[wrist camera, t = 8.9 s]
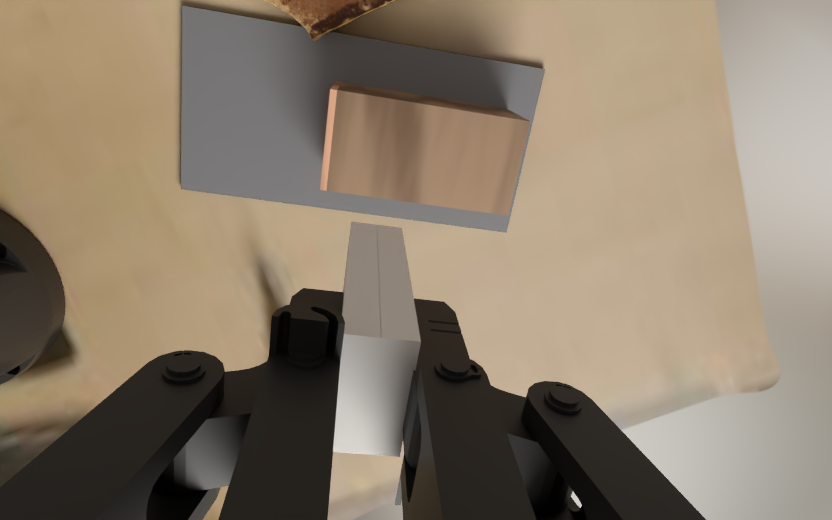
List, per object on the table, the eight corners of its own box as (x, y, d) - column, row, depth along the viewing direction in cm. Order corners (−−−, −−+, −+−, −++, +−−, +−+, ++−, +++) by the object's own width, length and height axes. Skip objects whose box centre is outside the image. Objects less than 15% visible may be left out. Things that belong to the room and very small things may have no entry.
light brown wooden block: (319, 189, 34) (508, 215, 35) (330, 88, 32) (530, 121, 33) (327, 167, 39) (489, 191, 41) (336, 80, 37) (507, 109, 39)
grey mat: (182, 187, 39) (180, 189, 39) (184, 5, 35) (182, 5, 35) (505, 230, 43) (506, 232, 42) (543, 68, 38) (545, 69, 38)
